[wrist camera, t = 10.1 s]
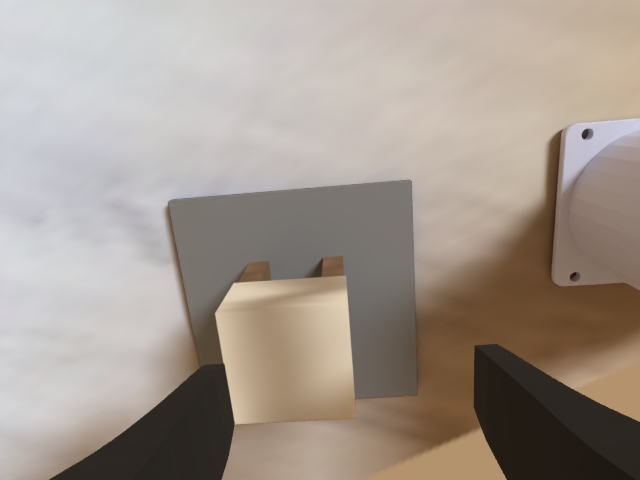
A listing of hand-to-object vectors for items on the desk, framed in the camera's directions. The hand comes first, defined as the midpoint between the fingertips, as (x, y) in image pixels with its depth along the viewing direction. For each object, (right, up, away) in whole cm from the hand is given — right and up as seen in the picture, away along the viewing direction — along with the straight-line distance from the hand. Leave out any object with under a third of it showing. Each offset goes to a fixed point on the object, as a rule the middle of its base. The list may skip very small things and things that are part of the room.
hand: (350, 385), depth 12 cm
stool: (-2, +1, +10) cm, 10 cm away
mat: (-2, +1, +11) cm, 11 cm away
